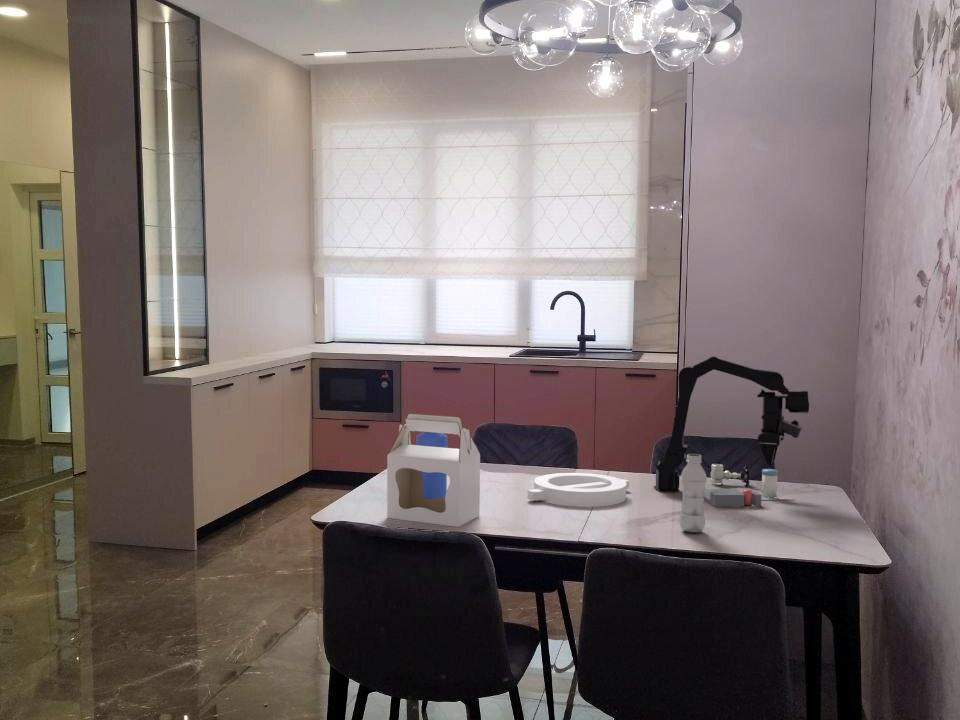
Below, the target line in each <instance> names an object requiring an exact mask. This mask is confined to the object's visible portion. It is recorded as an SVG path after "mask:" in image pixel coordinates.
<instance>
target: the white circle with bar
mask: <svg viewBox="0 0 960 720" xmlns="http://www.w3.org/2000/svg"><path fill="white" fill-rule="evenodd" d="M628 489H630V480H627V479H623V478H618V477H614V476H610V475H606V474H600V473H599V474H598V473H587V472H559V473H550V474H543V475H539V476H537V477H536V478H534V480H533V488H532V489H527V492H526V493H527V496H526V499H528V500H531V501H533V502H534V501H535V502H536V501H542V502H544V503H548V504H553V505H558V506H565V507H566V506H568V507H583V508H586V507H587V508H592V507H593V508H594V507H595V508H596V507H607V506H608V507H609V506H613V505H617V504H621V503H623V502H624V501H626V499H627V490H628Z"/></svg>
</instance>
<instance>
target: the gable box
mask: <svg viewBox="0 0 960 720" xmlns="http://www.w3.org/2000/svg"><path fill="white" fill-rule="evenodd" d="M404 420H405V424H399V428H398V434H397V436H396V438H395V439H394V441H393V444H392V446H391V448H390V449H389V451H388V453H387V456H386V457H387V462H386V464H387V465H386V467H387V468H386V470H387V471H386V473H387V474H386V476H387V477H386V478H387V479H386V481H387V483H386V484H387V485H386V489H387V490H386V491H387V493H386V498H387V499H386V509H387V510H386V517H387V519H392V520H400V521H409V522H415V523H423V524H432V525H438V526H445V527H446V526H447V527H455V528H459V527H462V526H464V525H465V524H467V523H469V522H471V521H473V520H475V519H477V518H478V517H480V506H481V505H480V503H481V502H480V500H481V499H480V498H481V496H480V494H481V486H480V485H481V454H480V451H479V450H478V447H477V445H476V444H475V442H474V440H473V439H472V437H471V430H470V429H467V428H465V427H464V426H463V420H462V418H461V417H458V416H447V415H433V414H432V415H431V414H422V413H421V414H419V413H409V414H408V415H407V417H406V418H404ZM411 432H421V433H423V432H435V433H443V434H449V435H452V434H453V435H454V436H455V435H458V437H459V446H458V447H459V448H458V447H457V448H456V447H448V446H447V447H437V446H425V445H416V444H412V441H411ZM420 471H422V472H427V473H432V472H440V473H444V474H447V477H449V485H448V486H447V492H446V495H445V498H444V497H440V498H433V499H428V498H425V497H424V496H423V493H422V491H423V479H422V476H421V473H420Z"/></svg>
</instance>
